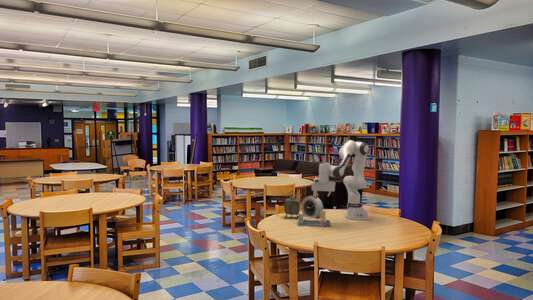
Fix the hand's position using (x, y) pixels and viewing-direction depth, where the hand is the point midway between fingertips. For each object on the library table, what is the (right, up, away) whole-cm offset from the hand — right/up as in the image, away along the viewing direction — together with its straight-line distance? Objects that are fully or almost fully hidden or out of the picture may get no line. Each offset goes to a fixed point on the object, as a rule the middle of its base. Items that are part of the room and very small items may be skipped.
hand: (322, 196), depth 337 cm
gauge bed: (-7, -25, +1) cm, 26 cm away
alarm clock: (-6, -23, +31) cm, 39 cm away
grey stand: (-6, -23, -1) cm, 24 cm away
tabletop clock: (-26, -23, +22) cm, 41 cm away
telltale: (-2, -23, -6) cm, 24 cm away
